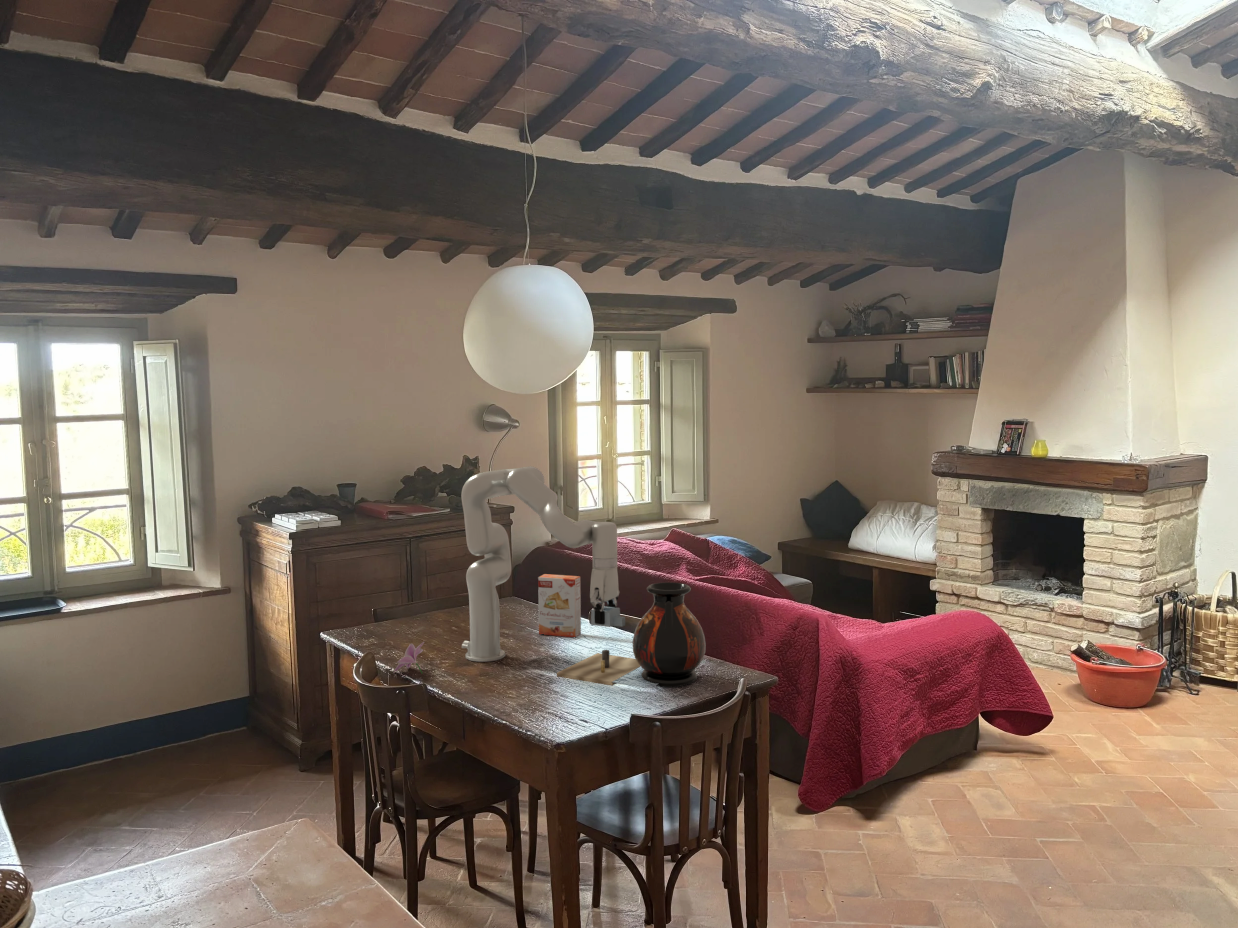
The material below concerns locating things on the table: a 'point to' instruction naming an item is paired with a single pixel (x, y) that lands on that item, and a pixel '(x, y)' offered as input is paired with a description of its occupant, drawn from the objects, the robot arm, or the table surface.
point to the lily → (409, 656)
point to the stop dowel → (602, 666)
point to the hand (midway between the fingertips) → (605, 620)
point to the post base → (592, 669)
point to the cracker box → (559, 605)
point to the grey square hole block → (610, 617)
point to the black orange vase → (669, 638)
